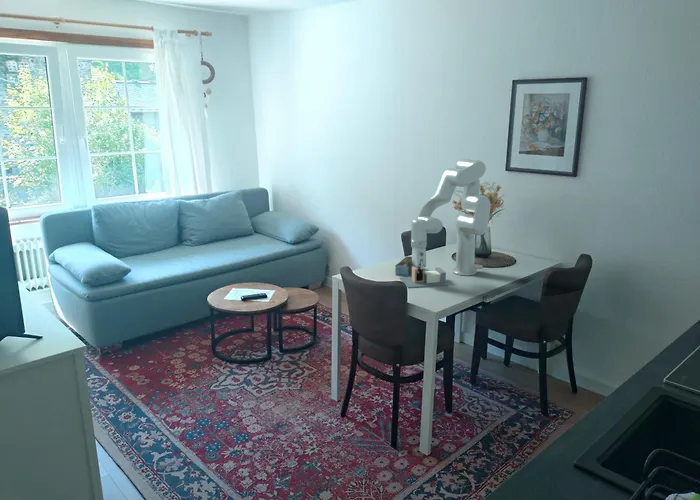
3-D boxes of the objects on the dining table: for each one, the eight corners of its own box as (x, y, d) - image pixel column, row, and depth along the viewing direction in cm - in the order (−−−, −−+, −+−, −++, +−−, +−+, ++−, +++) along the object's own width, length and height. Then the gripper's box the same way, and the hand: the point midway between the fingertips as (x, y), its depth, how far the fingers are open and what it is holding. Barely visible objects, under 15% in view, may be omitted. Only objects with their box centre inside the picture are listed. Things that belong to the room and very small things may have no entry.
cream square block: (439, 277, 275) (439, 267, 274) (445, 282, 267) (445, 272, 266) (422, 278, 274) (422, 268, 273) (427, 283, 265) (427, 273, 264)
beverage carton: (394, 275, 281) (394, 263, 280) (406, 266, 298) (406, 255, 297) (408, 277, 278) (409, 265, 277) (419, 268, 295) (420, 256, 294)
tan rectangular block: (421, 279, 272) (421, 266, 270) (424, 282, 267) (424, 268, 265) (411, 279, 271) (411, 266, 269) (414, 282, 266) (414, 269, 264)
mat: (436, 276, 279) (436, 275, 279) (447, 285, 264) (447, 284, 263) (399, 278, 276) (399, 277, 275) (408, 288, 260) (408, 286, 260)
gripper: (431, 247, 257) (430, 283, 261) (420, 239, 273) (420, 273, 277) (416, 248, 255) (415, 284, 260) (406, 240, 272) (406, 274, 276)
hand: (417, 278), depth 269 cm, fingers closed on tan rectangular block, 5 cm apart
